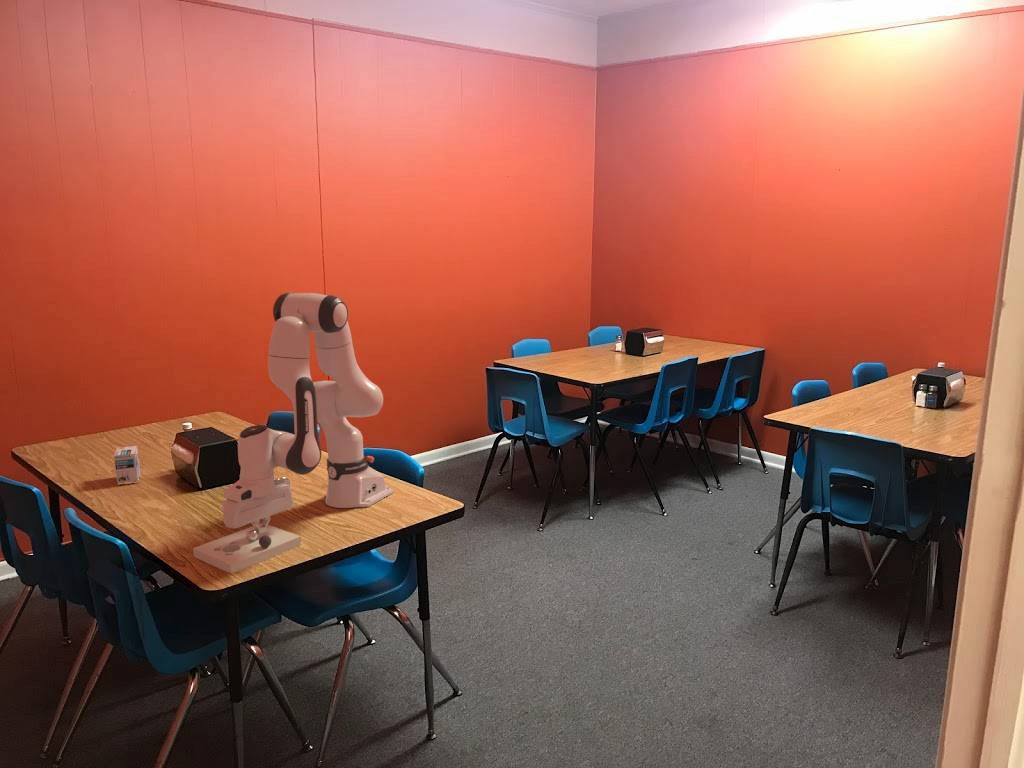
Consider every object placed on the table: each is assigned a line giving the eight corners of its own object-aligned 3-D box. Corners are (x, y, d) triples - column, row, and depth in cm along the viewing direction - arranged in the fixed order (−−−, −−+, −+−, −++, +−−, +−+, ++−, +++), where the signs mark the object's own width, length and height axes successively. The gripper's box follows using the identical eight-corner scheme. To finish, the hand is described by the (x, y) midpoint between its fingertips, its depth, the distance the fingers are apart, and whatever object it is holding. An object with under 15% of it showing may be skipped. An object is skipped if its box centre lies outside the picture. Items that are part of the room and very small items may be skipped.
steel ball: (252, 526, 213) (242, 530, 211) (259, 529, 211) (249, 533, 209) (253, 536, 214) (243, 541, 212) (260, 539, 212) (251, 544, 210)
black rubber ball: (266, 543, 210) (266, 532, 209) (274, 546, 208) (273, 535, 207) (256, 547, 207) (255, 536, 207) (264, 550, 206) (263, 539, 205)
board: (263, 530, 225) (262, 522, 224) (301, 544, 215) (300, 536, 214) (193, 556, 208) (192, 548, 207) (231, 573, 198) (230, 564, 197)
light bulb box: (138, 483, 265) (135, 453, 263) (116, 486, 263) (113, 455, 260) (140, 474, 275) (137, 445, 273) (119, 476, 272) (116, 447, 270)
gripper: (282, 473, 221) (285, 518, 224) (218, 493, 205) (222, 542, 208) (296, 477, 217) (299, 523, 220) (232, 498, 201) (236, 547, 204)
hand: (261, 532), depth 214 cm, fingers closed
